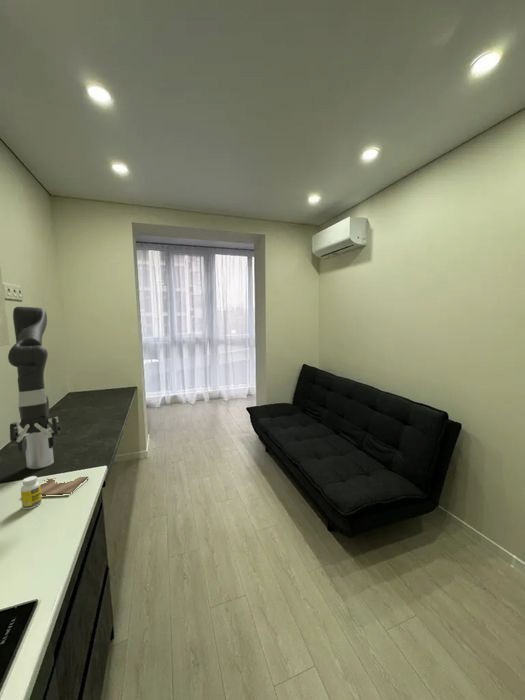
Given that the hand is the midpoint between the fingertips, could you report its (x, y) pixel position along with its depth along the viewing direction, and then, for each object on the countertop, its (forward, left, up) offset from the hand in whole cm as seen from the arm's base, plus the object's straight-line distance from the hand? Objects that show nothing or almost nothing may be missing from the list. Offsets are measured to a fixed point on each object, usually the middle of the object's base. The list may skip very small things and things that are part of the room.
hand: (37, 449), depth 100 cm
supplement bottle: (-5, +2, -21) cm, 21 cm away
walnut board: (-4, +13, -21) cm, 24 cm away
